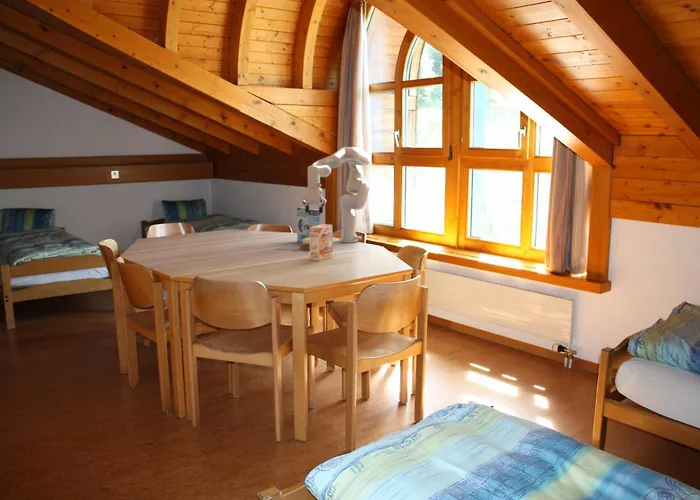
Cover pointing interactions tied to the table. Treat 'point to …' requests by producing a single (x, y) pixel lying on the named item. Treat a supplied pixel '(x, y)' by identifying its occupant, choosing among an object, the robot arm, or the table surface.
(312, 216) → the gum box
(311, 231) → the coffeecake box
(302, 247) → the board
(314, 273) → the table surface
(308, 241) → the cream coaster
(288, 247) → the slate mat
